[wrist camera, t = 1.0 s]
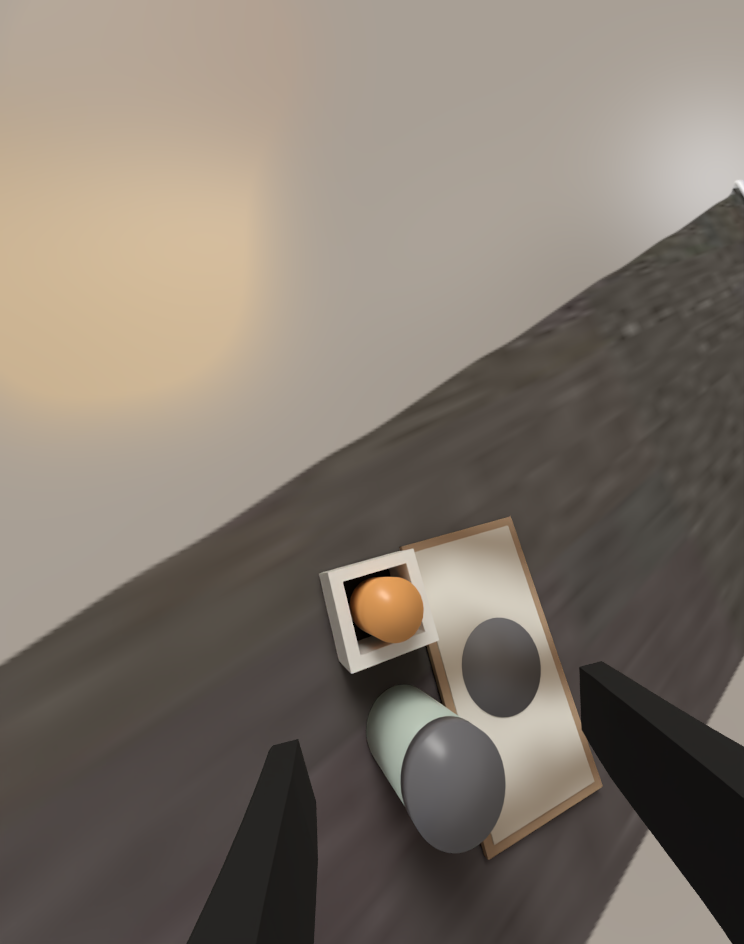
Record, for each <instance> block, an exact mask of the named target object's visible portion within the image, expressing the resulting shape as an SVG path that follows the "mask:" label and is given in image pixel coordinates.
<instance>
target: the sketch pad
mask: <svg viewBox="0 0 744 944" xmlns="http://www.w3.org/2000/svg"><path fill="white" fill-rule="evenodd" d="M399 548H400V551H403V550H408V549H414V552H415V556H416V560H417V563H418V567H419V570H420V574H421V577H422V581H423V584H424V588H425V591H426V595H427V598H428V602H429V606H430V609H431V613H432V616H433V620H434V623H435V627H436V630H437V634H438V637H439V641H436V642H433V643H431V644H428V645H426V646H427V650H428V653H429V657H430V661H431V664H432V668H433V671H434V675H435V679H436V682H437V686H438V690H439V693H440V697H441V700H442V704H443V706H445V707H446V708H448V709H449V710H451V711H452V712H453V713H455V714H456V715H458V716H459V717H461V718H463V719H465V720H467V721H469V722H470V723H472V724H473V725H475V726H476V727H478V728H479V729H480V730H482V731H483V732H484V733H486V734H487V735H488V736H489V738H490V739H491V740H492V741H493V743H494V744H495V746H496V747H497V749H498V752H499V754H500V756H501V759H502V762H503V766H504V771H505V782H506V787H505V798H504V804H503V808H502V811H501V814H500V817H499V819H498V821H497V823H496V825H495V827H494V828H493V830H492V832H491V833H490V834H489V835H488V837H487V838H486V839H485V840H484V841H483V842H482V843H481V846H482V849H483V853H484V855H485V857H486V858H487V859H488V860H489V859H491V858H492V857H494V856H496V855H497V854H499V853H500V852H502V851H503V850H505V849H506V848H508V847H510V846H511V845H513V844H514V843H516V842H517V841H519V840H520V839H522V838H524V837H525V836H527V835H528V834H530V833H531V832H533V831H534V830H536V829H537V828H539V827H541V826H542V825H544V824H545V823H547V822H548V821H550V820H551V819H553V818H555V817H556V816H558V815H559V814H561V813H562V812H564V811H565V810H567V809H568V808H570V807H572V806H573V805H575V804H576V803H578V802H579V801H581V800H582V799H584V798H586V797H587V796H589V795H590V794H592V793H593V792H595V791H596V790H598V789H599V788H601V787H603V786H602V783H601V780H600V777H599V774H598V771H597V768H596V765H595V762H594V759H593V756H592V753H591V751H590V748H589V745H588V742H587V739H586V736H585V735H584V733H583V731H582V728H581V721H580V718H579V715H578V712H577V709H576V707H575V704H574V701H573V698H572V695H571V692H570V689H569V686H568V683H567V680H566V677H565V674H564V671H563V668H562V666H561V663H560V660H559V657H558V654H557V651H556V648H555V645H554V642H553V639H552V636H551V633H550V630H549V627H548V625H547V622H546V619H545V616H544V613H543V610H542V607H541V604H540V601H539V598H538V595H537V592H536V589H535V586H534V583H533V581H532V578H531V575H530V572H529V569H528V566H527V563H526V560H525V557H524V554H523V551H522V548H521V545H520V542H519V540H518V537H517V534H516V531H515V528H514V525H513V522H512V519H511V517H507V518H503V519H500V520H496V521H492V522H489V523H485V524H482V525H478V526H474V527H471V528H467V529H464V530H460V531H456V532H453V533H449V534H445V535H442V536H438V537H435V538H431V539H427V540H424V541H420V542H417V543H413V544H409V545H406V546H402V547H399Z"/></svg>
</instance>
